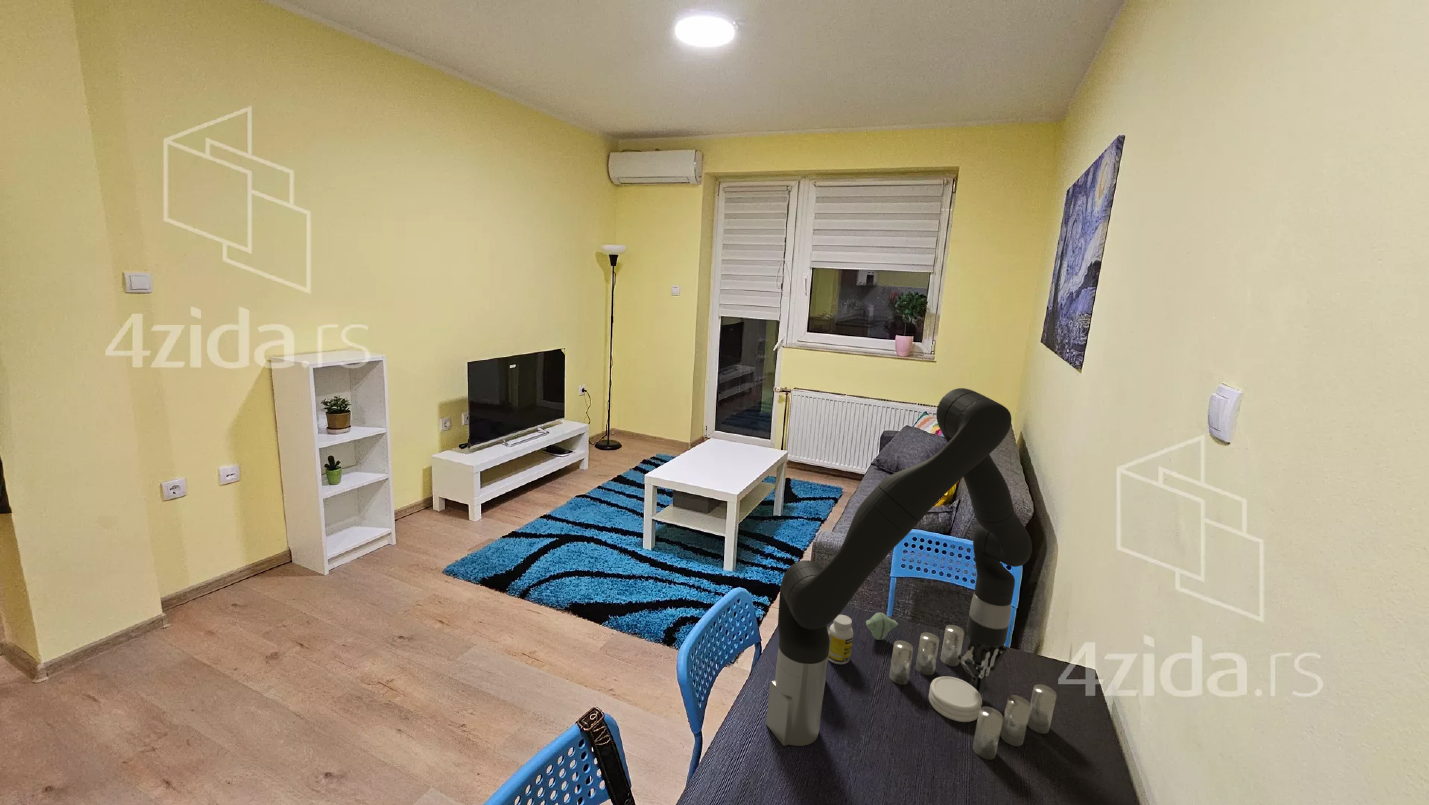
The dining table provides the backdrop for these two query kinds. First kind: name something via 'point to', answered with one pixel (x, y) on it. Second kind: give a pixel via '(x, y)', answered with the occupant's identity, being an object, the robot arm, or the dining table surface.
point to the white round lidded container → (955, 699)
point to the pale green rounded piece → (880, 625)
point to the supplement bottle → (841, 640)
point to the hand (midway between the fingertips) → (976, 689)
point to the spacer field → (989, 718)
